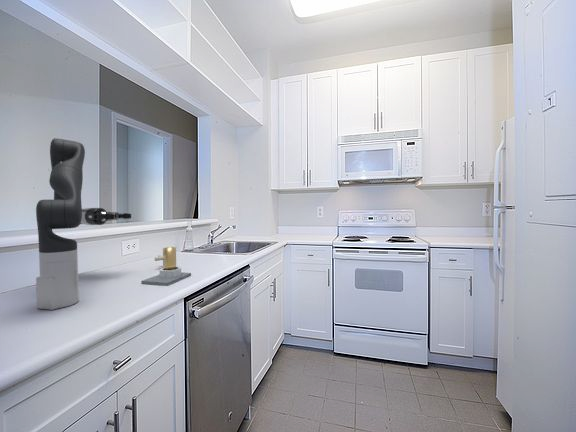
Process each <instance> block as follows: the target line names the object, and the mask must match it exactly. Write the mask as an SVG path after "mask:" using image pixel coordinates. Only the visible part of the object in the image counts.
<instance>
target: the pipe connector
mask: <svg viewBox="0 0 576 432" xmlns="http://www.w3.org/2000/svg"><path fill="white" fill-rule="evenodd" d="M164 248H165V247H163V248H162V254H161V255H160V254H159V255H157V257H154V261H155V262H160V261H162V268H164Z"/></svg>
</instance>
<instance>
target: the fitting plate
mask: <svg viewBox="0 0 576 432" xmlns="http://www.w3.org/2000/svg"><path fill="white" fill-rule="evenodd" d="M191 276H192V273H191V272H182V267H181V266H176V270H164V268H163V267H161V268H159V274H157V275H154V276H151V277H148V278H146V279H143V280H141V285H152V286H162V287H163V286H164V287H165V286H166V287H168V286H171V285H172V284H175V283H177V282H180V281H182V280H184V279H187V278H189V277H191Z"/></svg>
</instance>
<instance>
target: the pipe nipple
mask: <svg viewBox="0 0 576 432" xmlns="http://www.w3.org/2000/svg"><path fill="white" fill-rule="evenodd" d="M163 248H164V270H176V267H177V247H176V246H175V247H174V246H169V247H163Z"/></svg>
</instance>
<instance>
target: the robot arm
mask: <svg viewBox="0 0 576 432" xmlns="http://www.w3.org/2000/svg"><path fill="white" fill-rule="evenodd" d="M49 146H50V147H49V158H50V167H51V171H50V176H49V180H48V181H49V185H50V188H51V189H52V190H53V199H40V200H39V201H37V204H36V207H35V215H36V217H35V218H36V224H37V225H36V227H37V233H38V234H37V237H38V238H37V239H38V259H39V261H38V263H39V264H38V265H39V276H37V277H35V285H36V286H35V287H36V308H37V309H41V310H50V311H51V310H52V311H53V310H56V309H60V308H62V309H63V308H65V307H70V306H73V305H75V304H78V302H79V301H80V300H79V299H80V297H79V296H80V295H79V294H80V293H79V292H80V291H79V270H78V269H79V265H78V264H79V263H78V261H79V260H78V242H77V240H75V239H72V238H67V237H63V236H60V235H59V234H56V233H54V232H53V230H62V229H63V230H65V229H75V228H78V227H79V226H80V225H87V226H101V225H104V224H105V223H107V222H109V221H110V222H111V221H119V220H121V219H122V220H128V219H132V213H127V212H122V213H119V212H117V211H115V212H113V211H107V210H105V208H102V207H85V208H83V207H82V189H83V181H84V180H83V175H84V174H83V166H84V162H85V158H86V157H85V155H86V149H85V146H84V144H83V143H81V142H79V141H75V140H69V139H63V138H55V137H54V138H52V140H51V142H50V144H49Z"/></svg>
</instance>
